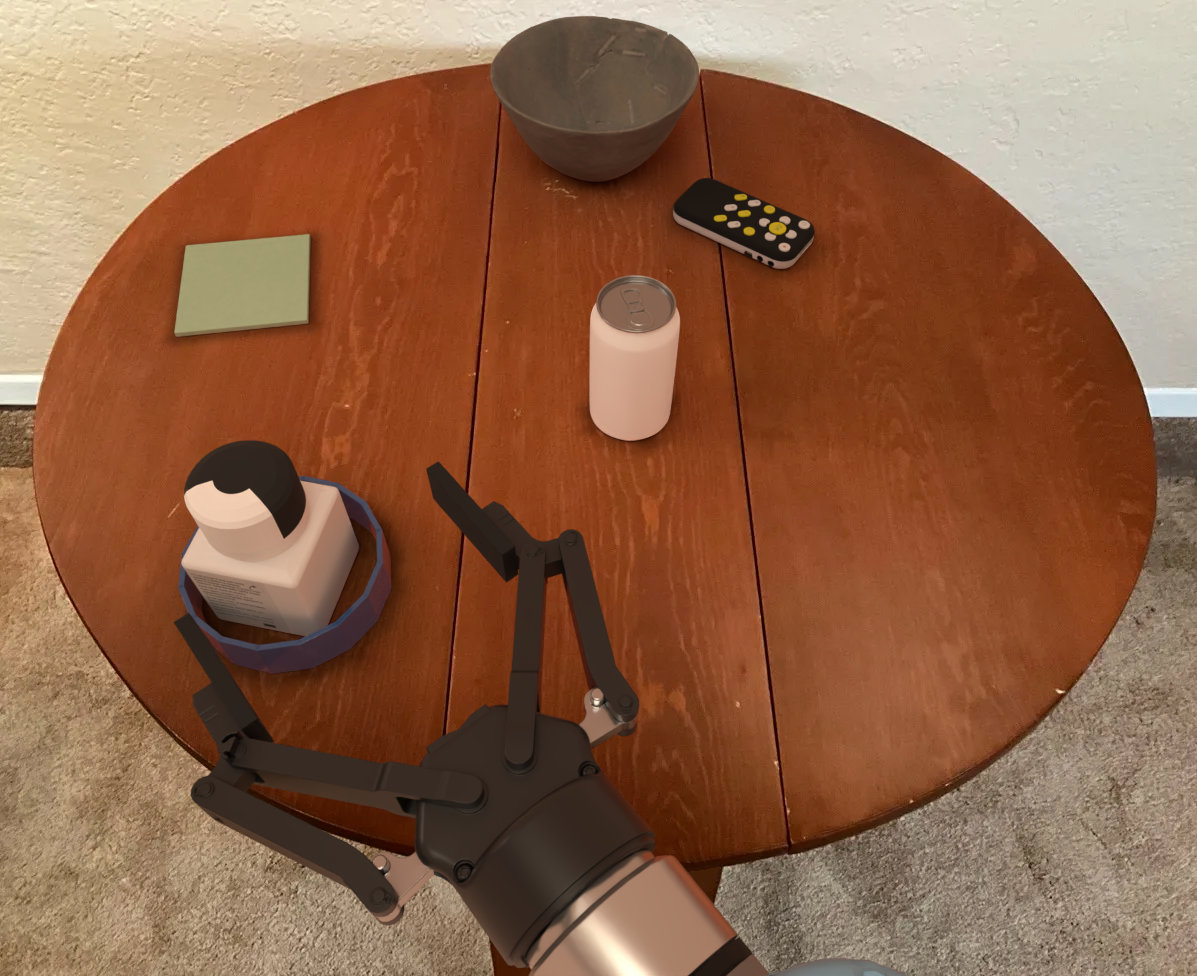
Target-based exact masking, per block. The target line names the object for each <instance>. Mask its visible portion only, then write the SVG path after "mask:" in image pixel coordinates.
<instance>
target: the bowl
mask: <svg viewBox="0 0 1197 976" xmlns="http://www.w3.org/2000/svg"><path fill="white" fill-rule="evenodd" d="M489 77H490V78H489V79H490V83H491V87H492V89H493V91H494V93H495V95H496V97H497V99H498V101H499V102H500V104H501V106H502V107H503V109H504V110H505V113H506V114H507V116H508V117H509V119H510V121H511V122H512V124H513V126H514V127H515V129H516V131H517V132H518V134H519V136H521V138H522V139H523V141H524V142H525V144H526V145H527V147H528V148H529V149H530V150H531V151H532V152H533V153H534V154H535V155H536V157H538V158H539V159H540V160H541V161H543V162H544V164H546V165H547V166H549V167H551V168H552V169H553V170H556V171H557V172H558V173H561V174H563V175H565V176H568V177H570V178H574V179H577V180H579V181H584V182H592V183H593V182H594V183H595V182H606V181H611V180H613V179H617V178H620V177H622V176H624V175H626V174H628V173H630V172H632V171H633V170H635V169H636V168H638V167H640V166H641V165H642V164H644V163H645V162H646V161H647V160H648V159H649V158H651V157H652V156H653V155H654V154H655V153H656V152H657V150H659V148H660V147H661V146H662V145H663V144H664V142H665V141H666V140H667V138H668V137H669V136H670V134H671V133H672V131H673V130H674V128H675V126H676V125H677V123H678V122H679V120H680V118H681V116H682V114H683V113H684V111H685V109H686V108H687V106H688V104H689V103H690V101H691V99H692V98H693V96H694V94H695V92H696V90H697V88H698V83H699V78H700V68H699V63H698V61H697V59H696V57H695V56H694V54H693V52H692V51H691V49H690V48H689V46H687V45H686V44H685V43H684V42H683V41H682V40H680V39H679V38H677V36H675V35H673V34H671V33H668V31H665V30H663V29H660V28H658V27H656V26H653V25H649V24H647V23H643V22H639V21H635V20H627V19H621V18H617V17H616V18H615V17H611V18H609V17H607V16H597V15H576V16H575V15H574V16H564V17H563V16H562V17H558V18H554V19H550V20H546V21H544V22H541V23H537V24H534V25H533V26H530V27H528V28H527V29H524V30H522V31H521V32H519V33H518V34H516V35H515V36H513V37H512V38H510V39H509V40H508V41H507V42H506V43H505V44H504V45H503V46H502V47H501V48H500V49H499V50H498V52H497V53H496V54H495V56H494V58H493V60H492V62H491V65H490V72H489Z"/></svg>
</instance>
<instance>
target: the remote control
mask: <svg viewBox="0 0 1197 976" xmlns="http://www.w3.org/2000/svg"><path fill="white" fill-rule="evenodd" d="M672 218H673V219H674V221H675V222H676V223H677V224H679V225H680V226H682V227H685V228H686V229H689V230H690V231H693V232H695V233H697V234H699V235H701V236H703V237H706V238H708V239H710V240H712V241H714V242H717V243H719V244H721V245H722V246H725V247H727V248H729V249H732V250H734V251H736V252H739V253H740V254H743V255H745V256H747V257H749V258H751V259H754V260H756V261H758V262H760V263H762V264H764V265H765V266H768V267H771V268H773V269H775V270H786V269H789V268H791V267H792V266H793V265H795V263H796V262H797V261H798V260H799V259H800V257H801V256H803V254H804V253H805V252H806V251H807V249H808V248H809V247H810V246H811V245H812V243H813V241H814V238H815V234H816V233H815V232H816V231H815V227H814V225H813V223H812V222H811V221H809V220H808V219H806V218H804V217H801V216H800V215H797V214H795V213H792V212H790V211H788V210H786V209H783V208H781V207H778V206H777V205H774V204H772V203H771V202H767V201H765V200H762V199H760V198H758V197H756V196H753V195H752V194H749V193H747V192H745V191H742V190H740V189H738V188H735V187H733V186H731V185H729V184H727V183H724V182H721V181H719V180H717V179H714V178H710V177H701V178H699V179H697V180H696V181H694V182H693V183H692V184H691V185H690V186H689V187H688V188H687V189H686V190H685V191H684V192H683V193H682V194H681V195H680V196H679V197H678V198H677V199H676V200H675V202H674V203H673V207H672Z"/></svg>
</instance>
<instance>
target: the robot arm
mask: <svg viewBox="0 0 1197 976" xmlns="http://www.w3.org/2000/svg"><path fill="white" fill-rule="evenodd" d="M425 470H426V473H427V474H426V475H427V479H428V483H429V488H430V491H431V495H432V499H433V500H434V501H435V503H436V504H437V505H438V506H439V507H440V508H441V509H442V511H443V512H444V513H445V514H446V515H447V516H448V518H449V519H450V520H451V521H452V523H454V524H455V526H456V527H457V529H459V530H460V531H461V533H462V534H463V535H464V536H465V537H466V538H467V539H468V541H469V542H470V543H471V544H472V545H473V547H475V548H476V550H477V551H478V552H479V553H480V554H481V556H482V557H483V558H484V559H485V561H487V563H488V564H489V565H491V567H492V568H493V569H494V571H495V572H496V573H497V574H498V575H499V576H500V578H501V579H502V580H503V581H504V582H505V583H506V584H507V583H509V582H510V581H511V580H512V579H514V578H515V577H517V576H518V579H517V590H516V604H515V605H516V606H515V617H514V618H515V619H514V631H513V632H514V633H513V645H512V657H511V658H512V659H511V670H510V672H509V684H508V697H507V704H504V703H503V704H494V705H490V706H488V705H487V703H485V704H483V705H482V706H481V707H479V708H477V710H475V711H474V712H472V713H471V714H470V715H469V716H468V717H467V719H466V720H465V721H464V722H463V723H462V725H461V726H460V727H459V728H458V729H456V730H453V731H451V732H448V733H446V734H443V735H441V736H439V737H438V738H437V739H436V740H434V741H433V742H431V743H429V745H427V746H426V747H425V749H426V753H425V755H424V756H423V757H422V759H421V761H420V763H419V765H415V764H408V763H403V762H397V761H390V760H389V761H386V762H379V761H373V760H368V759H361V758H356V757H351V756H345V755H340V754H335V753H330V752H324V751H319V750H314V749H308V748H303V747H298V746H291V745H287V744H282V743H276V742H275V740H274V738H273V736H272V735H271V734H270V732H269V731H268V729H267V727H266V726H265V724H264V723H263V722H262V720H261V718H260V717H259V715H258V713H257V712H256V711H255V709H254V707H253V706H252V704H251V703H250V700H249V699H248V698H247V697H246V695H245V693H244V692H243V690H242V689H241V687H240V686H239V684H238V682H237V681H236V680H235V678H234V676H233V674H232V673H231V672H230V671H229V669H228V667H227V666H226V664H225V662H224V660H223V659H222V657H221V655H220V654H219V653H218V651H217V650H216V649H215V648H214V647H213V645H212V644H211V642H210V641H209V639H208V638H207V637H206V635H205V634H204V632H203V631H202V630H201V628H200V627H199V626H198V624H197V623H196V622H195V620H194V619H193V617H192V616H191V615H190V613H188V612H187V613H185V614H184V615H183V616H180V618H178V619H176V620H174V621H173V623H174V625H175V627H176V628H177V630H178V632H179V633H180V635H181V637H182V638H183V639H184V641H185V643H186V644H187V646H188V647H189V649H190V651H191V652H192V654H193V655H194V657H195V659H196V660H197V662H198V663H199V665H200V666H201V668H202V670H203V672H204V673H205V674H206V677H207V678H208V679H209V681H210V683H208V684H207V685H206V686H204V687H203V688H201V689H199V690H198V691H197V692H194V693H193V694H192V707H193V708H194V710H195V712H196V714H197V715H198V716H199V718H200V719H201V722H202V723H203V724H204V726H205V728H206V729H207V731H208V733H209V735H210V736H211V738H212V740H213V741H214V742H215V744H216V746H217V753H218V754H219V757H218V760H217V763H216V765H215V766H214V767H213V769H212V770H211V771H210V772H209V773H208V775H205V776H201V777H199V778H198V779H197V780H196V781H195V782H194V783H193V784H192V786H191V789H190V798H191V800H192V801H193V802H194V803H195V804H196V806H198V807H199V808H200V809H201V810H202V811H203V812H204V813H206V814H207V816H209V817H210V818H211V819H213V821H215V822H216V823H219V824H221V825H223V826H225V827H227V828H229V829H231V830H232V831H235V832H236V833H238V834H240V835H242V836H245V837H247V839H250V840H253V841H254V842H256V843H258V844H260V845H262V846H264V847H266V848H268V849H270V850H272V851H274V852H276V853H278V854H280V855H282V856H284V857H286V858H287V859H290V860H291V861H294V862H295V863H297V864H299V865H302V866H303V867H305V868H307V869H309V870H311V871H313V872H315V873H316V874H319V875H321V876H323V877H325V878H327V879H328V880H331V881H332V882H335V883H337V884H339V885H341V886H343V887H345V888H346V889H348V890H350V891H352V893H353V894H354V895H355V896H356V897H357V899H358V900H359V901H360V902H361V904H362V905H363V907H365V909H367V911H368V912H369V913H370V914H371V915H372V916H373V917H374V919H375V920H376V921H377V922H378V923H379V924H381V925H382V926H388V927H389V926H394V925H396V924H397V923H398V922H400V921H401V919H402V918H403V917H404V915H405V911H406V909H405V904H406V903H407V902H409V900H410V899H411V898H412V897H413V896H414V895H415V894H416V893H417V892H418V891H419V890H421V888H422V887H423V886H424V885H426V883H427V882H428V881H429V880H430V879H432V878H433V877H434V876H436V877H438V878H441V879H442V880H444V881H446V882H447V883H449V884H450V885H451V886H452V887H453V889H454V890H455V891H456V892H457V894H458V896H460V898H461V900H462V901H463V903H464V904H465V905H466V907H467V908H468V910H469V911H470V913H471V914H472V915H473V917H474V919H475V920H476V922H478V924H479V925H480V927H481V929H482V930H483V931H484V933H485V934H486V936H487V937H488V939H489V941H490V942H491V943H492V944H493V946H494V947H495V948H496V950H497V952H498V953H499V954H500V956H501V958H502V959H503V960H504V962H505V963H506V964H507V966H509V967H511V966H512V967H513V966H515V968H518V969H522V968H527V969H528V968H530V972H529V973H528V975H527V976H909V974H906V973H903V972H901V971H899V970H897V969H895V968H892V967H889V966H887V965H884V964H880V963H877V962H875V961H873V960H871V959H857V958H848V957H847V958H846V957H827V958H819V959H815V960H809V961H806V962H802V963H799V964H796V965H793V966H791V967H787V968H785V969H783V970H778V969H776V970H774V971H772V972H769V971H768V970H767V969H766V967H765V966H764V965H763V964H762V962H760V961H759V959H758V958H757V957H756V956H755V955H754V953H753V952H752V950H751V949H750V948H749V947H748V945H747V944H746V943H745V942H744V940H743V939H742V938H741V937H740V936H739V933H738V932H737V931H736V930H735V929H734V928H733V926H732V925H731V924H730V923H729V921H728V920H727V918H726V917H724V915H723V914H722V913H721V911H720V910H719V909H718V908H717V906H716V905H715V904H714V903H713V902H712V901H711V899H710V898H709V897H708V895H707V894H706V893H705V892H704V891H703V889H702V888H701V887H700V886H699V884H698V883H697V882H696V881H695V880H694V879H693V877H692V876H691V875H690V874H689V872H688V871H687V870H686V869H685V867H684V866H683V865H682V864H681V862H680V861H679V860H678V859H677V857H676V856H675V855H671V854H670V855H669V854H664V855H657V856H655V855H654V854H653V853H654V851H655V849H656V841H655V837H656V834H655V832H654V830H653V829H652V828H651V827H650V826H649V824H648V823H647V822H646V820H645V819H643V817H642V816H641V814H639V812H638V811H637V810H636V808H635V807H634V806H633V805H632V804H631V803H630V801H629V800H628V799H627V798H626V797H625V796H624V794H623V793H622V792H621V791H620V789H618V787H617V786H616V784H615V783H614V782H613V781H612V780H611V778H609V776H608V775H607V774H606V772H604V770H603V769H602V767H600V765H599V764H598V762H597V761H596V759H595V756H594V753H593V751H592V750H594V749H595V748H596V747H598V746H600V745H601V744H603V743H605V742H607V741H608V740H610V739H611V738H613V737H614V736H616V735H618V736H620V737H628V736H631V735H633V734H634V733H635V732H636V730H637V728H638V723H639V721H638V720H639V713H640V712H639V711H640V699H639V696H638V695H637V694H636V692H635V690H633V688H632V687H631V685H630V684H629V682H628V681H627V679H626V678H625V676H624V675H623V674H622V672H621V670H620V669H619V668H618V667H617V665H616V661H615V657H614V653H613V649H612V646H611V641H610V636H609V633H608V629H607V625H606V621H605V617H604V613H603V610H602V605H601V602H600V599H599V594H598V589H597V586H596V583H595V578H594V576H593V570H592V567H591V563H590V559H589V556H588V552H587V548H586V543H585V540H584V536H583V534H582V533H581V532H580V531H579V530H577V529H574V528H573V529H572V528H570V529H569V528H568V529H566V530H563V531H562V532H561V533H560V534H559V535H558V537H556V538H553V539H549V540H539V539H536V538H534V537H533V536H532V535H531V534H530V533H529V532H528V531H527V530H526V528H524V527H523V525H522V524H521V523H520V521H518V520H517V519H516V518H515V517H514V515H512V513H510V511H509V510H508V509H507V508H506V507H505V506H504V504H502V503H499V502H498V501H495V500H493V501H492V502H490V503H488V504H487V505H486V506H484V507H483V508H481V507H480V505H478V503H477V502H476V501H475V500H474V499H473V498H472V497H471V496H470V495H469V493H468V492H467V491H466V490H465V488H463V486H462V485H461V484H460V483H459V482H458V481H457V480H456V479H455V478H454V476H452V474H451V473H450V472H449V471H448V470H447V469H446V468H445V466H444V465H443V464H442V463H441V462H440V461H439V460H438V461H436V462H435V463H433V464H431V465H430V466H428V467H426V468H425ZM560 575H561V578H562V583H563V585H564V591H565V596H566V599H567V603H568V608H569V611H570V616H571V620H572V624H573V625H572V626H573V628H574V632H575V633H574V634H575V637H576V642H577V646H578V650H579V654H580V659H581V662H582V667H583V672H584V675H585V679H586V683H587V687H588V691H587V692H586V693H585V695H584V697H583V711H584V715H585V717H584V718H583V720H582V721H581V722H580V723H577V722H576V721H573V720H569V719H566V718H562V717H558V716H554V715H551V714H546V713H542V686H543V685H542V682H543V667H544V665H543V664H544V646H545V628H546V609H547V607H546V606H547V592H548V590H547V589H548V584H549V579H550V578H553V577H556V576H560ZM253 785H255V786H261V787H265V788H271V789H276V790H282V791H287V792H292V793H296V794H302V795H307V796H314V797H319V798H324V799H329V800H333V801H337V802H338V801H339V802H343V803H349V804H354V805H359V806H365V807H370V808H375V809H380V810H383V811H386V812H389V813H391V814H394V815H396V816H401V817H407V818H412V819H415V821H414V822H415V823H414V838H413V839H414V841H413V843H414V852H413V853H412V854H410V855H408V856H406V857H405V856H404V857H402V856H401V857H400V856H397V855H395V854H394V853H391V852H390V851H386V850H385V851H380V852H377V853H375V854H374V855H373V856H371V857H370V858H369V857H368V856H367V855H366V854H364V853H363V852H362V851H361V850H359V849H358V848H357V847H355V846H354V845H352V844H350V843H348V842H347V841H345V840H343V839H340V838H339V837H337V836H335V835H333V834H331V833H328V832H327V831H324V830H323V829H321V828H319V827H317V826H315V825H313V824H310V823H309V822H307V821H304V820H303V819H301V818H299V817H296V816H295V815H293V814H290V813H289V812H286V811H284V810H282V809H280V808H278V807H276V806H274V805H272V804H270V803H269V802H267V801H264V800H262V799H261V798H258V797H256V796H255V795H252V794H250V793H248V791H249V790H250V788H251V787H252V786H253Z"/></svg>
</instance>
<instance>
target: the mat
mask: <svg viewBox="0 0 1197 976" xmlns="http://www.w3.org/2000/svg"><path fill="white" fill-rule="evenodd" d="M311 238H312V237H311V234H309V233H304V234H295V235H283V236H273V237H262V238H253V239H252V238H251V239H240V240H239V239H238V240H229V241H228V240H227V241H220V242H209V243H198V244H187V245H185V250H184V256H183V265H182V272H181V278H180V279H181V280H180V285H179V286H180V287H179V295H178V303H177V310H176V317H175V324H174V335H175V337H176V338H179V337H187V336H190V337H191V336H199V335H208V334H219V333H220V334H221V333H228V332H229V333H230V332H237V331H238V332H239V331H247V330H248V331H249V330H257V329H258V330H259V329H269V328H278V327H279V328H280V327H289V326H299V325H308V324H309V322H310V321H309V319H310V283H311V282H310V281H311V279H310V277H311V244H312V243H311V242H312V241H311V240H312V239H311Z"/></svg>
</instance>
